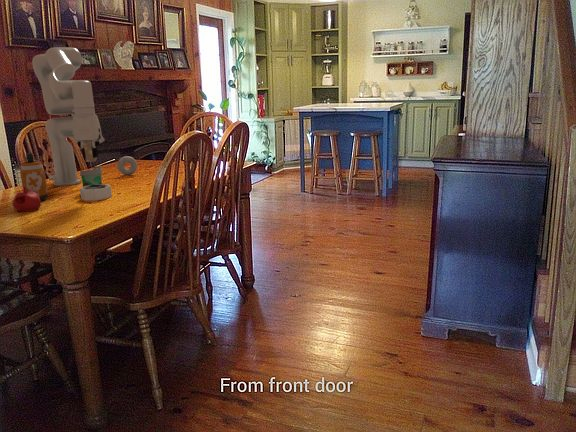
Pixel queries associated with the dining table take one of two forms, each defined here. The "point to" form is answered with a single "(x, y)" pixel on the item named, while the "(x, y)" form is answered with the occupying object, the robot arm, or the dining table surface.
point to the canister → (34, 176)
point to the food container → (91, 176)
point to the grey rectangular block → (89, 151)
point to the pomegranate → (26, 200)
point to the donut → (127, 160)
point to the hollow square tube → (95, 187)
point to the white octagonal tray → (95, 193)
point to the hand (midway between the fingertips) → (91, 157)
